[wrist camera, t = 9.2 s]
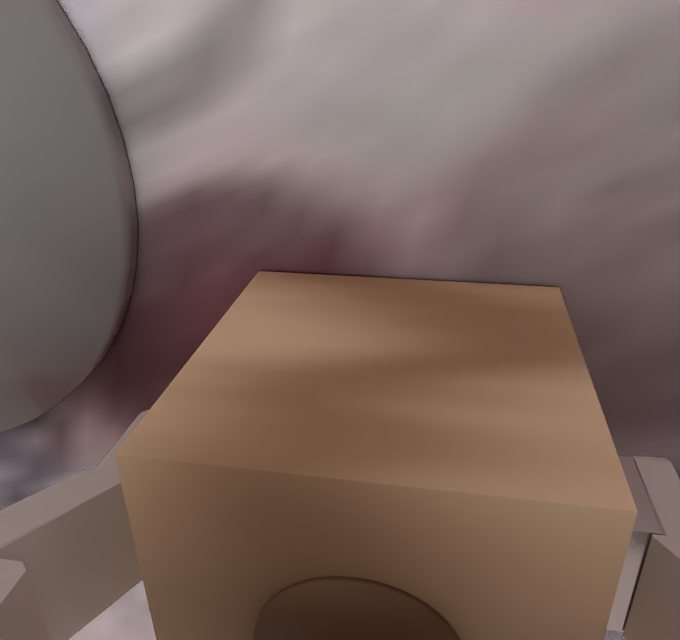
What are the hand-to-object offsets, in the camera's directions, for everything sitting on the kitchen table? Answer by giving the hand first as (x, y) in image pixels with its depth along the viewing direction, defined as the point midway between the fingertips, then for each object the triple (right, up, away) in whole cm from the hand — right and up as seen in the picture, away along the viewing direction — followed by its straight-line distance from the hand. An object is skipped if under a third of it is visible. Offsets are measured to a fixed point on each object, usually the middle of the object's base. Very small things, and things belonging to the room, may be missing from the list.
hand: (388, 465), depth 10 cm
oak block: (0, +1, +2) cm, 2 cm away
